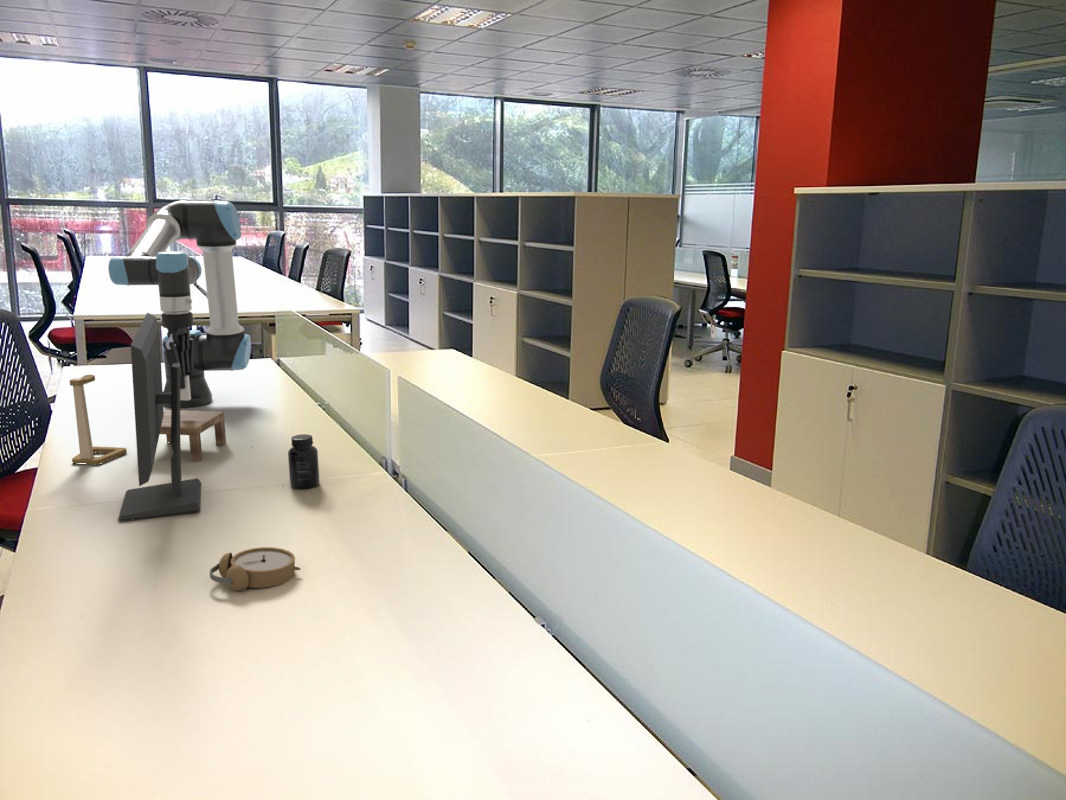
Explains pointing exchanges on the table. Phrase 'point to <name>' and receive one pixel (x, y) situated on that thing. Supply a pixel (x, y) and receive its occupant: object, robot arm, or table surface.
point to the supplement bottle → (303, 462)
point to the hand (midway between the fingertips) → (184, 399)
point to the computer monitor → (156, 432)
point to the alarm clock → (255, 568)
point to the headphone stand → (88, 428)
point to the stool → (196, 428)
